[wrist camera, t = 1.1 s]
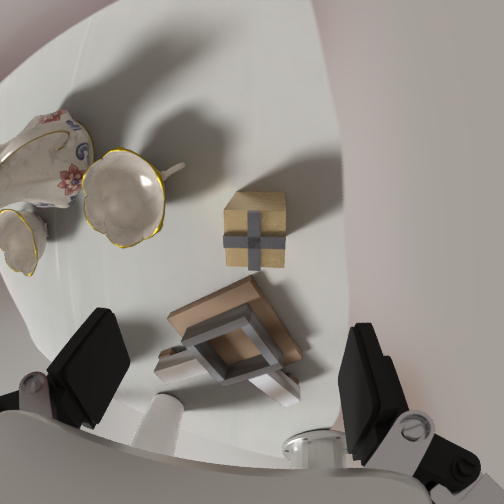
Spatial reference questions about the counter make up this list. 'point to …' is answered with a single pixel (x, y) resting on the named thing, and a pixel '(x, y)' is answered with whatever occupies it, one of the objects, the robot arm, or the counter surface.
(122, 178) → the chinaware
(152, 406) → the drinking glass
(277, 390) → the shaft rig
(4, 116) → the counter surface
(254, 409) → the counter surface
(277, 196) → the block
